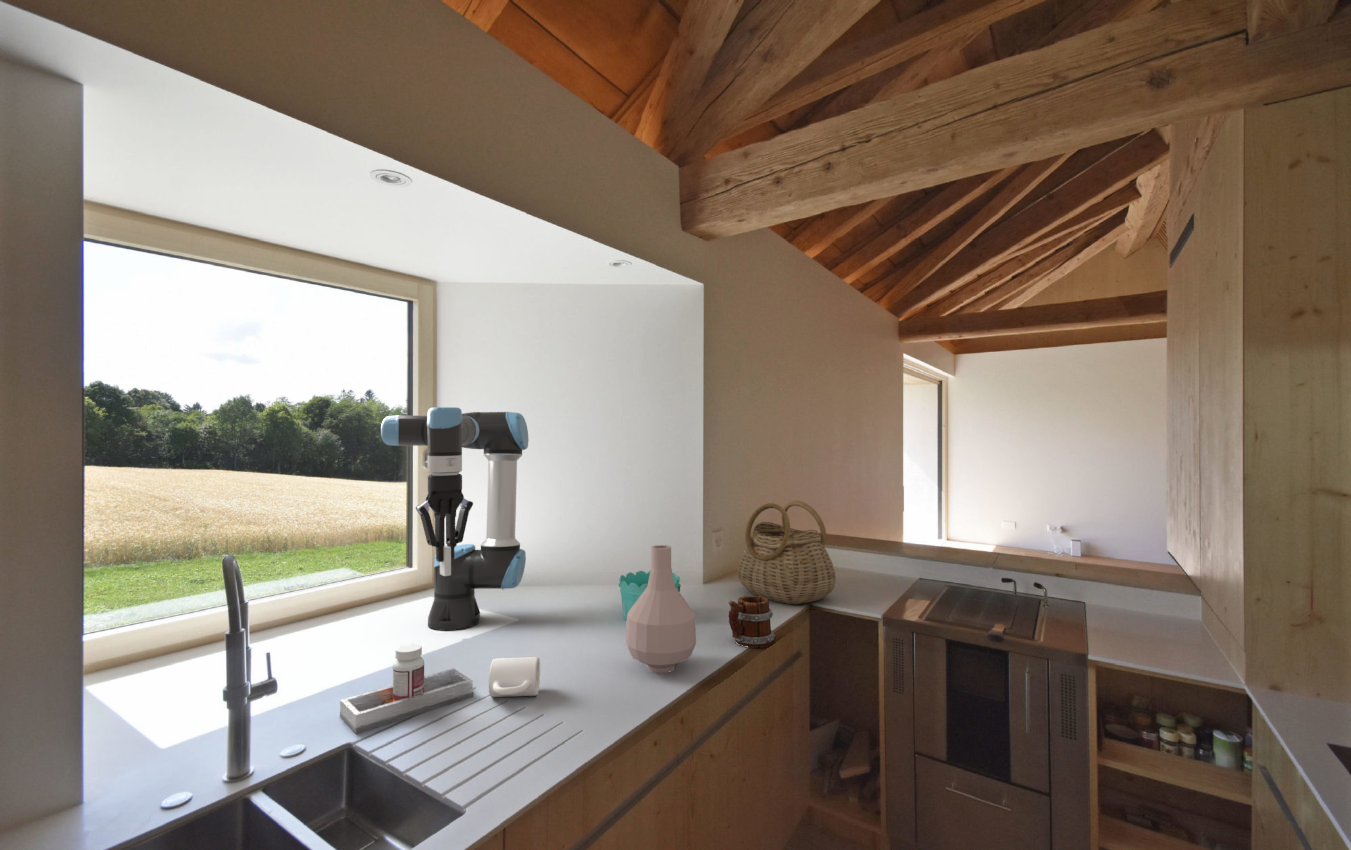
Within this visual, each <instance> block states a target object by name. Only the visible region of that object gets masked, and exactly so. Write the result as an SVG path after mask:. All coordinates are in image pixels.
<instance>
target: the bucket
mask: <svg viewBox="0 0 1351 850" xmlns="http://www.w3.org/2000/svg"><path fill="white" fill-rule="evenodd" d="M650 571H651V570H649V571H648V572H646V571H644V570H639V571H635V573H633V572H628V573H627V574H626V575H624V574H622V575H620V577H619V578H618V580H619V583H618V587H619V589H620V596H621V605H622V606H621V607H622V614H623V616H622V617H623V620H624V621H625V622H627V614H628V612H629V610H630V609H631V608H632V607H633V605H634V604H635V603H636V601H637V600H638V599H639V597H640V596H641V595H642V593H643V592H644V591H645V589H646V588H647V586H648V581H649V576H650ZM672 573H673V578H674V583H675V587H676V589H677V590H678V591H679V593H681V592H680V591H681V586H682V585H681V583H680V580H681V576H680V575H677V574H676V573H674V572H672Z"/></svg>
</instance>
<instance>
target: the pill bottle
mask: <svg viewBox="0 0 1351 850" xmlns="http://www.w3.org/2000/svg"><path fill="white" fill-rule="evenodd" d="M422 647H423V646H422V645H421V644H419V643H407V644H401V645H400V646H397V647H396V648H395V659H396V660H394V663H393V665H392V685H393V702H395V701H398V700H402V699H405V698H408V697H412V696H415V695H418V694H422V693H424V676H425V658H423V657H422V655H423V651H422V650H423V648H422Z"/></svg>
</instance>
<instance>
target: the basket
mask: <svg viewBox="0 0 1351 850" xmlns="http://www.w3.org/2000/svg"><path fill="white" fill-rule="evenodd" d="M791 507H800V508H801V509H804V510H805V511H807V512H808V513H809V514H810V515H811V516H812V517H813V519H815V521H816V522H817V525H818V527H819V531H820V534H819V531H818V530H815V529H808V530H803V531H802V530H800V529H799V530H798V529H794V528H792V527H791V523H790V517H789V515H788V513H787V512H788V510H789V509H790V508H791ZM768 509H775V510H777V511H779V513H781V524H777V523H774V522H767V521H762V522H758V523H757V524H756V525H755V526H754V528H753V525H754V523H755V520H756V519H757V518H758V516H759V515H760V514H762V512H764V511H765V510H768ZM752 528H753V530H752ZM744 533H745V537H744V538H745V539H744V540H745V547H744V550H743V551H742V554H741V556H740V558H739V560H738V564H737V576H738V580H739V581H740V583H741V585H742V586H743V587H744V588H745V589H746V590H747V591H749V592H750V593H752V594H753V595H754V596H761V597H765V598H767V599H768V600H769V601H772V600H773V602H776V601H777V602H776V603H780V602H781V604H784V603H786V605H792V604H796V605H802V604H803V603H805V604H808V602H810V603H813V601H814V602H817V601H819V600H821V599H824V598H825V597H827V596H829V595H830V594H831V593H832V591H833V590H834V588H835V586H836V581H837V580H836V579H837V578H836V577H837V576H836V570H835V567H834V563H833V561H832V559H831V557H830V555H829V553H828V550H827V549H826V547H825V545H826V541H827V531H826V527H825V524H824V522H823V519H822V518H821V516H820V515H819V513H818V512H817V511H816V510H815V509H814V508H813V507H812V506H811V505H809V504H807V503H805V502H804V501H801V500H792V501H789V502H788V503H786V504H785V505H784V507H783V506H781V505H779V504H776V503H772V502H771V503H770V502H769V503H768V502H767V503H764V504H762V505H760V506H759V507H757V508H756V509H755V510H754V512H753V513H752V514H751V516H750V517H749V519H748V521H747V524H746V528H745V532H744ZM816 600H817V601H816ZM803 605H804V604H803Z"/></svg>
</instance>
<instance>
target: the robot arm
mask: <svg viewBox="0 0 1351 850" xmlns="http://www.w3.org/2000/svg"><path fill="white" fill-rule="evenodd" d="M380 436H381V439H382V441H383V443H384V444H385V445H387V446H394V447H395V446H396V447H401V446H402V447H410V446H411V447H413V446H414V447H415V446H416V447H417V446H424V447H425V446H426V447H427V472H428V473H429V475H427V495H426V498H425V501H424V502H423V503H422V504H418V505H416V506H415V510H416V511H417V513H418V514H419V516H420V519H421V523H422V527H423V530H424V535H425V539H426V543H427V545H429V546H431V547H434V548H435V554H434V564H433V570H434V571H433V572H434V573H433V578H434V579H433V580H434V581H433V583H434V584H433V585H434V586H433V588H434V589H433V591H434V596H433V601H432V603H431V607H430V610H429V614H428V617H427V627H428V628H430V629H431V630H437V631H455V630H463V629H467V628H470V627H474V626H476V625H478V623H480V622H481V612H480V607H479V605H478V602H477V599H476V594H475V593H476V592H475V589H476V590H477V589H478V590H479V589H481V590H482V589H483V590H484V589H485V590H486V589H488V590H489V589H491V590H493V589H501V590H506V589H515V588H516V587H518V586H519V585H520V583H521V581H522V580H523V577H524V572H525V567H526V561H527V560H526V559H527V556H526V551H525V549H523V548H522V549H521V543H520V542H519V541H518V539H516V520H517V519H516V517H517V479H518V478H517V477H518V475H517V474H518V473H517V472H518V461H519V459H520V458H522V456H523V451H524V450H527V449H528V447H529V429H528V426H527V422H526V419H525V417H524V416H523V414H521V413H519V412H515V411H514V412H512V411H511V412H510V411H490V412H489V411H487V412H486V411H485V412H484V411H482V412H480V411H470V412H465V413H462V409H461V408H460V407H454V406H453V407H452V406H449V407H448V406H447V407H443V406H442V407H441V406H438V407H436V406H435V407H433V406H432V407H430V408H429V409H428V410H427V415H405V414H404V415H403V414H401V415H399V414H395V415H388V416H387V415H386V416H385V418H383V420H382V422H381V426H380ZM463 449H471V450H483V456H484V457H485V458H486V459H487V461H488V469H487V501H486V502H487V503H486V504H487V505H486V507H487V508H486V533H485V536H486V538H485V539H484V540H483V542H481V544H480V549H476V546H475V544H473V543H467V544H466V543H465V544H459V543H462V542H463V541H464V535H465V531H466V527H467V522H468V518H469V513H470V511H471V509H472V507H473V506H474V502H473V501H471V500H468V499H466V498H465V496H464V494H463V492H462V491H463V475H462V473H461V472H462V471H463ZM459 507H460V509H459ZM430 508H431V510H432V511H433V516H434V527H433V523H432V518H431V515H430V513H429V511H430ZM458 509H459V512H458V517H457V510H458ZM456 517H457V521H456ZM445 544H446V545H445ZM457 544H459V545H457Z"/></svg>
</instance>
